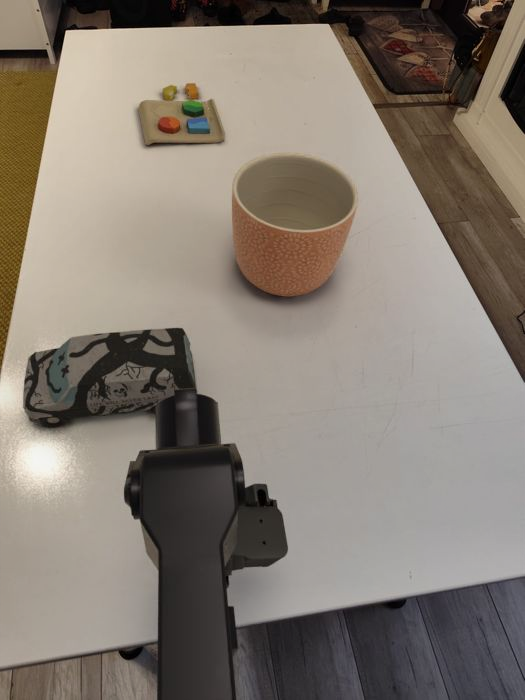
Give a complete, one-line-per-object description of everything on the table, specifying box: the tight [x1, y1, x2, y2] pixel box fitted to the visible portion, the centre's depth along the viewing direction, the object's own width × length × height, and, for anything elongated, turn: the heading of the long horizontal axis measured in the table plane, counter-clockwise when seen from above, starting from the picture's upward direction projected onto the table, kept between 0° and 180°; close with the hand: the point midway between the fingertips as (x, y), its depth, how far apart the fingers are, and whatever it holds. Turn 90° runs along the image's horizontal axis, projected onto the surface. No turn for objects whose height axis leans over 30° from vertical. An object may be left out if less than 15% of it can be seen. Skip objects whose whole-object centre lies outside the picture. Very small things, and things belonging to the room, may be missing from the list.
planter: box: [231, 152, 359, 297], centre depth 93 cm, size 21×21×19 cm
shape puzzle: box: [138, 82, 226, 146], centre depth 128 cm, size 25×19×3 cm
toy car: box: [22, 327, 197, 429], centre depth 78 cm, size 11×25×10 cm, turn 100°
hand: (197, 570), depth 57 cm, fingers closed
